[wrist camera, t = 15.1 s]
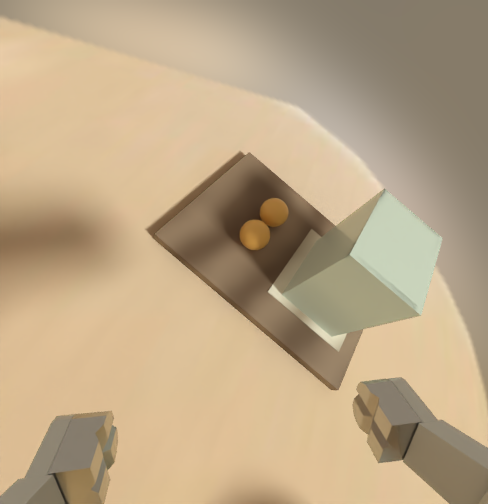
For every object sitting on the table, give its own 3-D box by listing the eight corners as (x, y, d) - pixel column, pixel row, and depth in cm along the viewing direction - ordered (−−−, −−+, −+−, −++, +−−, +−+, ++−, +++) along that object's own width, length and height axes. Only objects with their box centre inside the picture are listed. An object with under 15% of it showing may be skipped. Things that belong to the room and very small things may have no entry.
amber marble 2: (250, 218, 30) (261, 203, 28) (264, 203, 32) (276, 187, 29) (271, 237, 30) (284, 223, 28) (284, 220, 32) (298, 206, 29)
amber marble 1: (229, 241, 28) (239, 227, 26) (246, 223, 30) (257, 208, 27) (252, 260, 28) (264, 248, 26) (267, 241, 30) (280, 228, 27)
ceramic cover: (281, 294, 28) (349, 254, 19) (316, 240, 32) (384, 188, 24) (331, 336, 28) (421, 315, 19) (359, 277, 32) (442, 238, 24)
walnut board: (153, 238, 27) (154, 233, 26) (246, 157, 35) (249, 151, 34) (331, 389, 27) (338, 390, 26) (381, 273, 35) (388, 270, 34)
